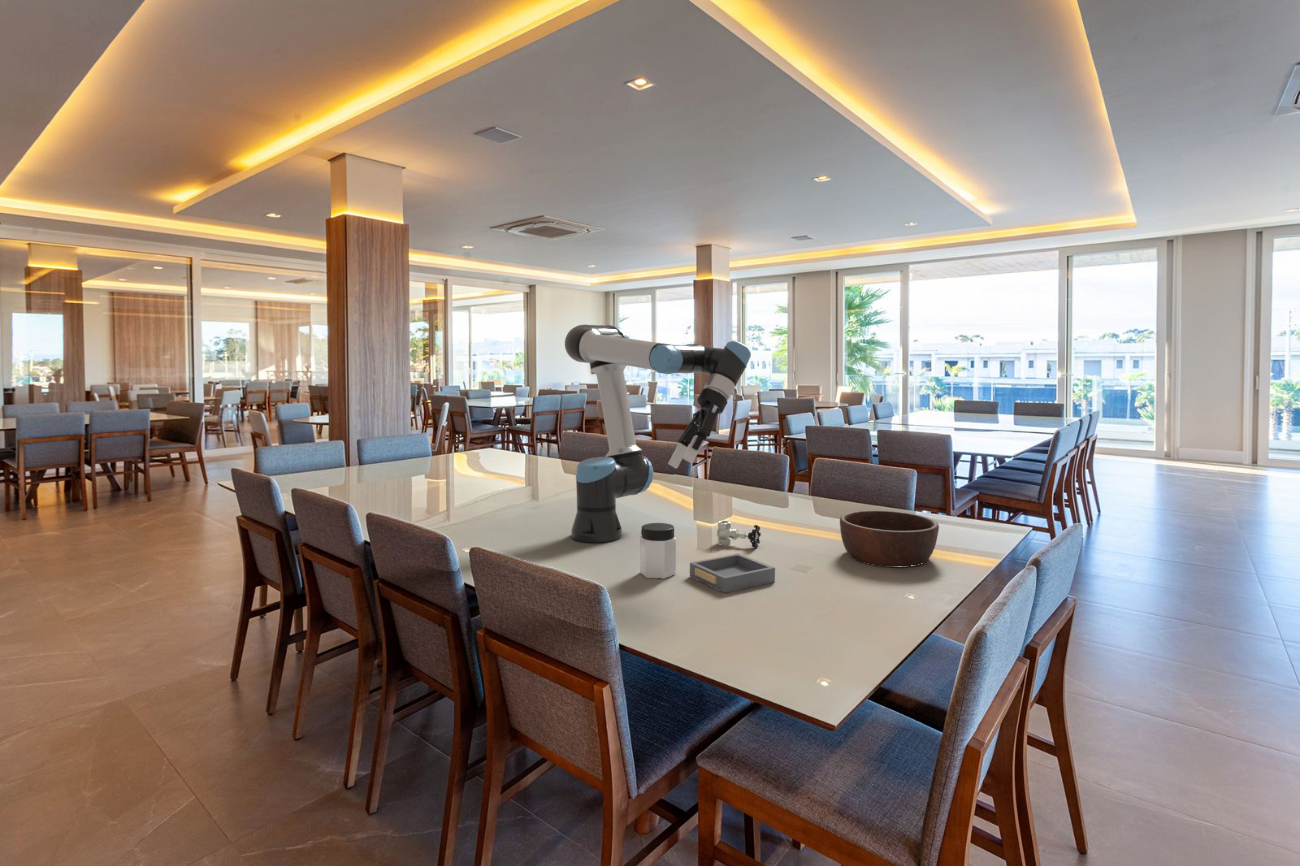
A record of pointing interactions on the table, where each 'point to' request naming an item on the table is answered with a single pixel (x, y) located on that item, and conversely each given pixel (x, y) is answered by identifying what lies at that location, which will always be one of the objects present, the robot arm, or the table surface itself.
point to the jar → (657, 550)
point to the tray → (732, 572)
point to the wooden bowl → (888, 537)
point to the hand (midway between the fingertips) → (679, 463)
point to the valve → (736, 534)
